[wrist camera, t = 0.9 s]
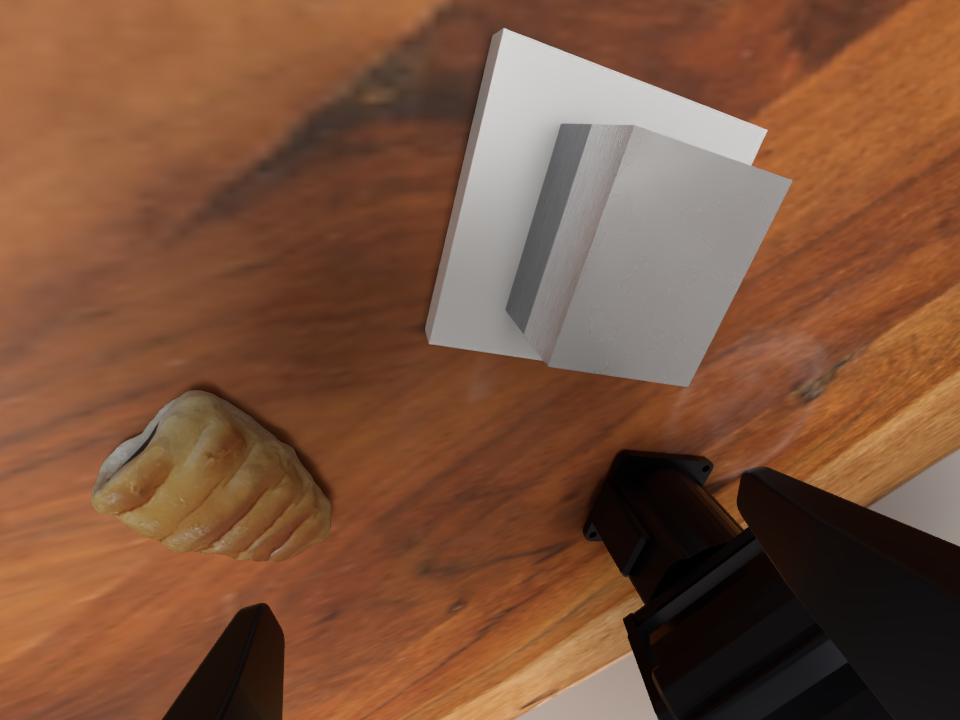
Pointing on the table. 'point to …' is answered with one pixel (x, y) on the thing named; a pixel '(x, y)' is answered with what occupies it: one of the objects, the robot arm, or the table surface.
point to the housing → (637, 251)
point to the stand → (539, 173)
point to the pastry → (213, 484)
